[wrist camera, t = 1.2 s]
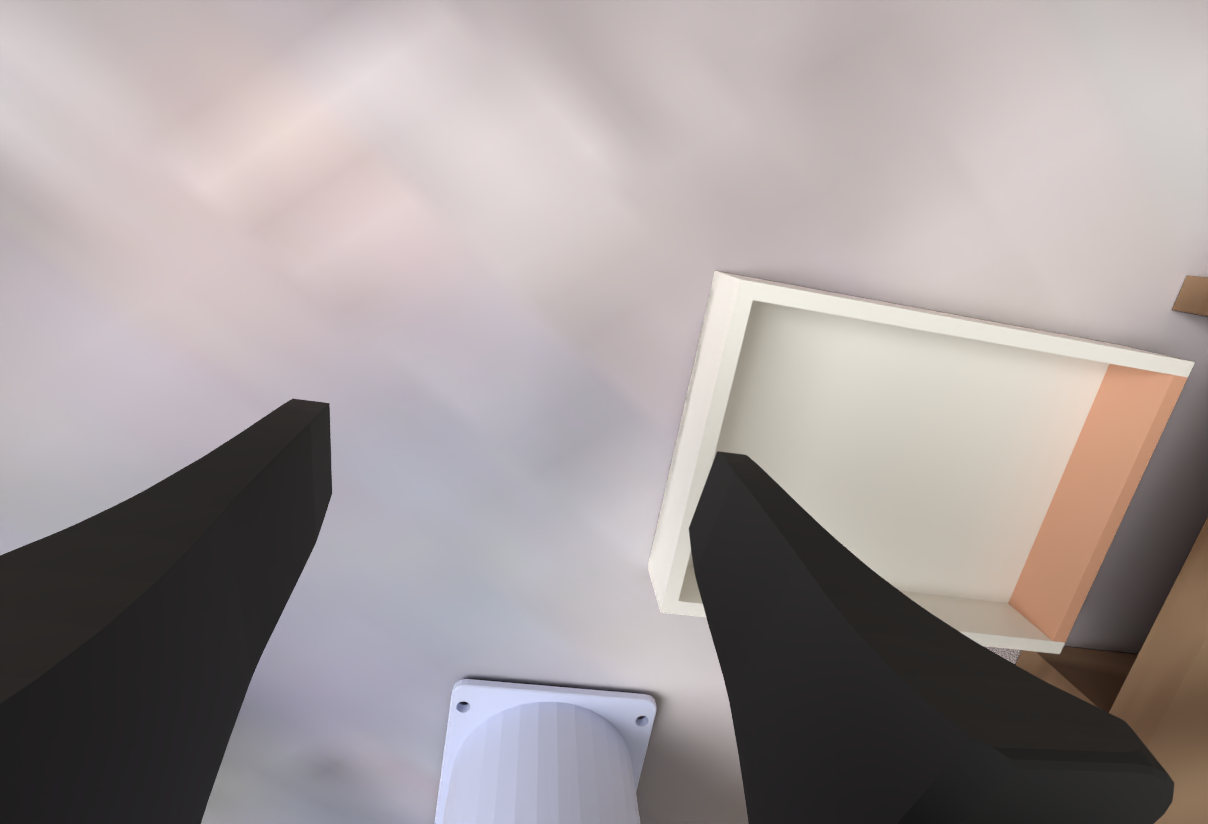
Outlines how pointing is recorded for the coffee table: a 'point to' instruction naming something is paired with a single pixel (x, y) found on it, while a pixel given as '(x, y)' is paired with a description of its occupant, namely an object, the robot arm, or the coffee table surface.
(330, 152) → the coffee table surface
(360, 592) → the coffee table surface
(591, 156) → the coffee table surface
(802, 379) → the white open tray
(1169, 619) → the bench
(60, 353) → the coffee table surface
